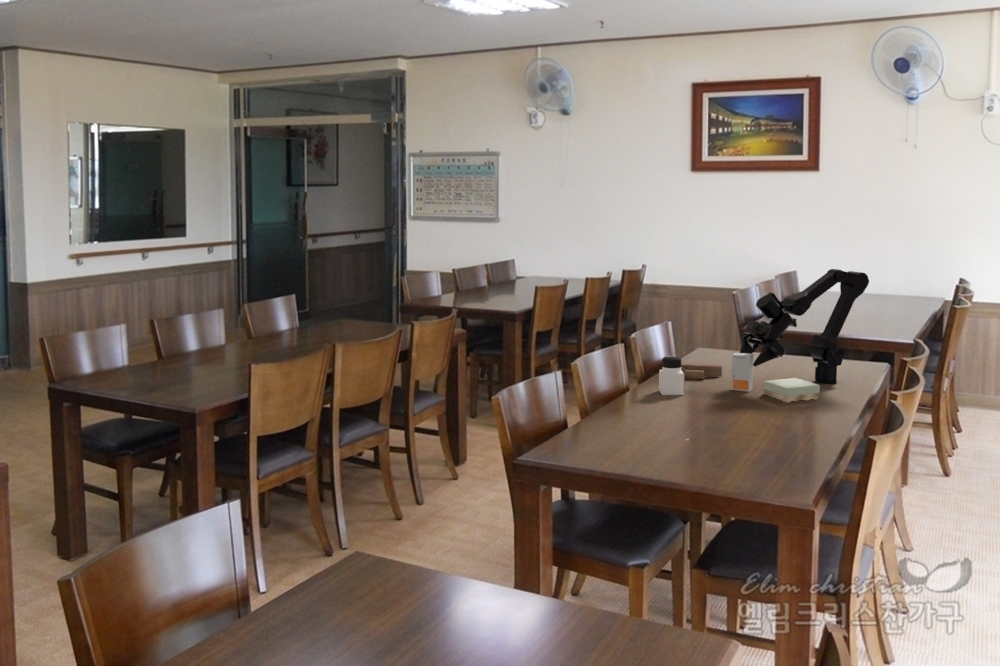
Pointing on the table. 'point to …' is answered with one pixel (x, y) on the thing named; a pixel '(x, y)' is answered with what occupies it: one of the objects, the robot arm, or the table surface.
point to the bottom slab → (791, 398)
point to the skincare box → (742, 372)
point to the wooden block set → (700, 370)
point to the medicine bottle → (671, 376)
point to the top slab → (791, 387)
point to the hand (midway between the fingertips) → (745, 363)
